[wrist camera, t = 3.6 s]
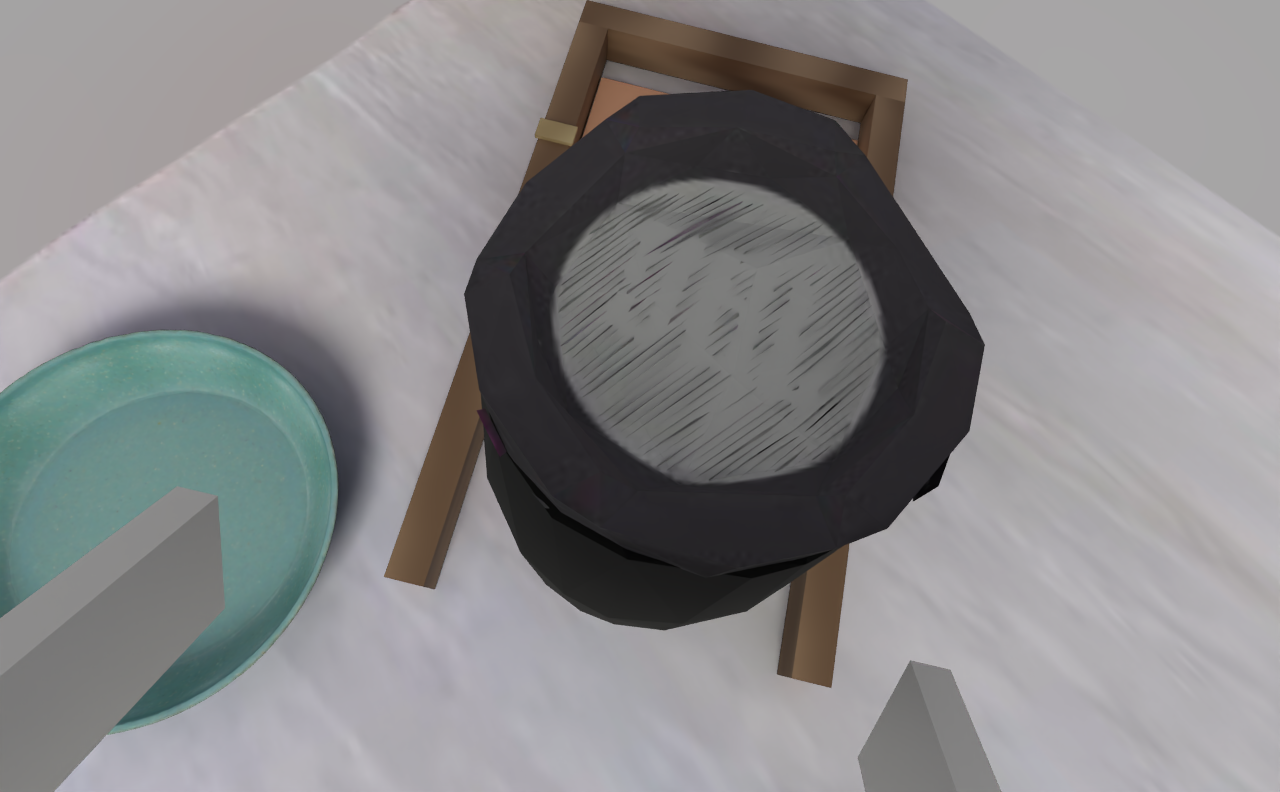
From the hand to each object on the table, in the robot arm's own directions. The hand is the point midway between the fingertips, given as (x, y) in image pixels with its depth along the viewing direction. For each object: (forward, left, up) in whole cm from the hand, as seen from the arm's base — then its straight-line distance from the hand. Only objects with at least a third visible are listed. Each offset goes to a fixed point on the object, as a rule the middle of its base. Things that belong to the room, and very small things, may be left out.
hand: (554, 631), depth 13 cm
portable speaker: (-1, -5, -15) cm, 16 cm away
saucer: (+17, 0, -15) cm, 22 cm away
